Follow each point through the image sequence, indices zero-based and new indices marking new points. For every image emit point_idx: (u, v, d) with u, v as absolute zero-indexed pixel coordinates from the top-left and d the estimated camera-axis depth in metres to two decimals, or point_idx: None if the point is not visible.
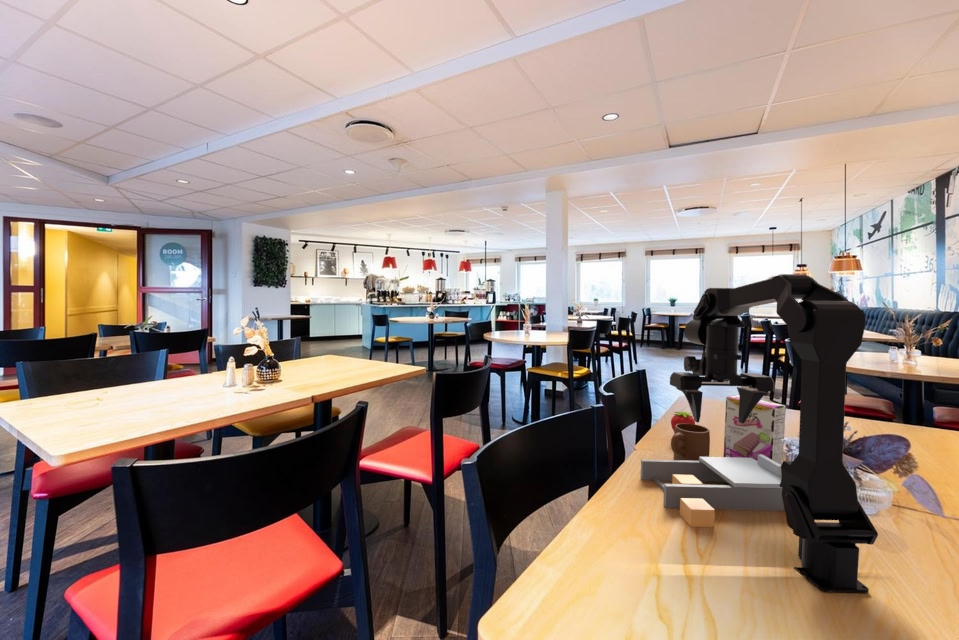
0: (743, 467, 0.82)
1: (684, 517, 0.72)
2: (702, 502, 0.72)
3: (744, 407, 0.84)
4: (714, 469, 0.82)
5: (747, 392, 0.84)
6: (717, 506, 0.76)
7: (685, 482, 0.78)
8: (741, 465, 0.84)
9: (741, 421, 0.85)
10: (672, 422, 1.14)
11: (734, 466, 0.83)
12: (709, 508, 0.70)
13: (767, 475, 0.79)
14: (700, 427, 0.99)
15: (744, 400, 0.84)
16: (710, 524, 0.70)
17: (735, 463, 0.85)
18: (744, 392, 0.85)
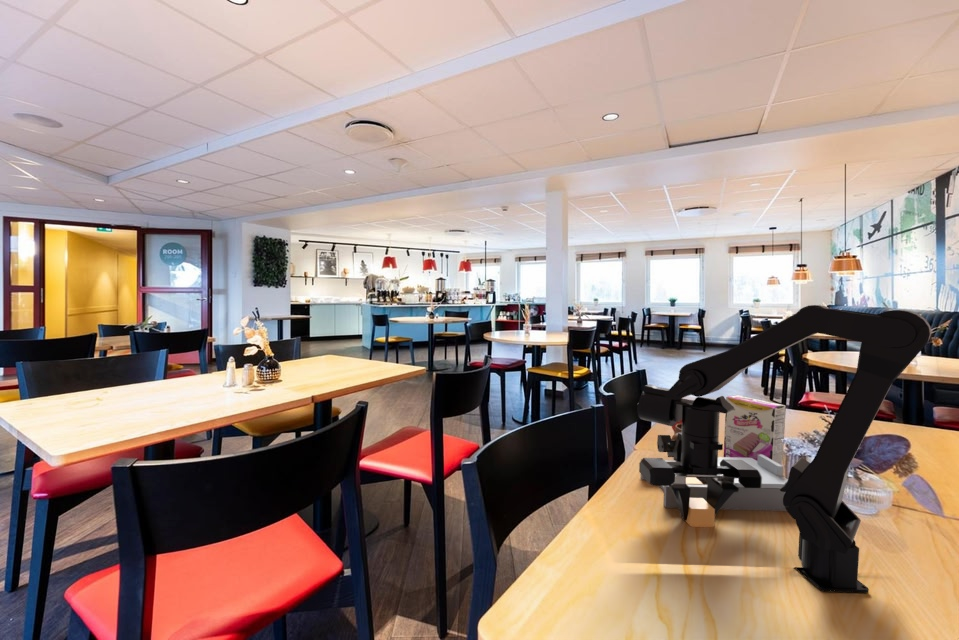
0: None
1: None
2: (702, 502, 0.72)
3: (712, 502, 0.71)
4: None
5: (715, 485, 0.71)
6: None
7: None
8: None
9: None
10: None
11: None
12: (709, 507, 0.70)
13: (767, 475, 0.79)
14: None
15: (712, 494, 0.71)
16: (710, 523, 0.70)
17: None
18: (712, 484, 0.71)
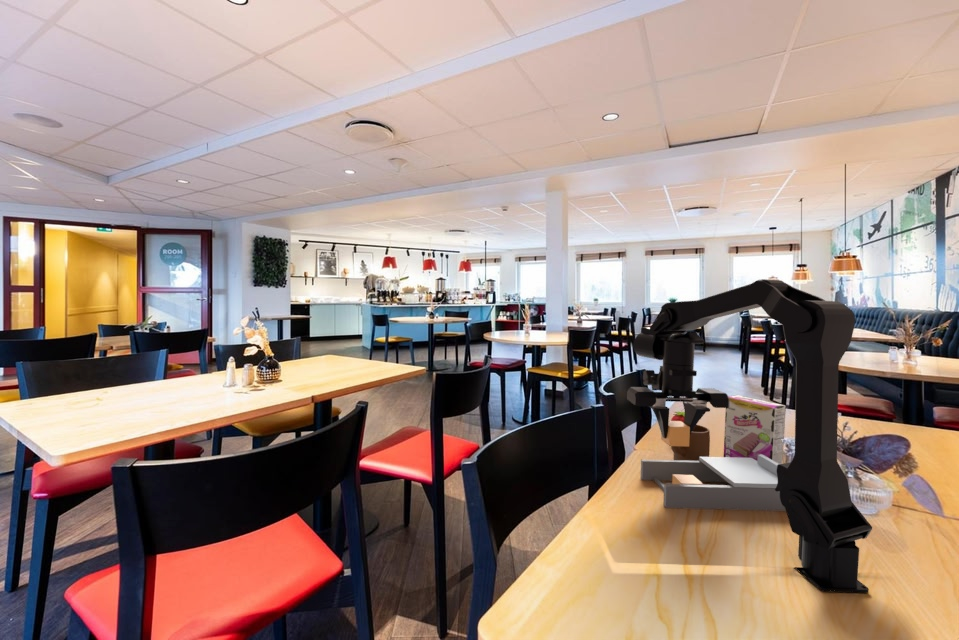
0: (743, 467, 0.82)
1: None
2: (680, 423, 0.85)
3: (688, 423, 0.84)
4: (714, 469, 0.82)
5: (691, 408, 0.83)
6: (717, 506, 0.76)
7: (685, 482, 0.78)
8: (741, 465, 0.84)
9: None
10: None
11: (734, 466, 0.83)
12: (685, 426, 0.83)
13: (767, 475, 0.79)
14: (700, 427, 0.99)
15: (688, 415, 0.84)
16: (686, 439, 0.82)
17: (735, 463, 0.85)
18: (688, 408, 0.84)
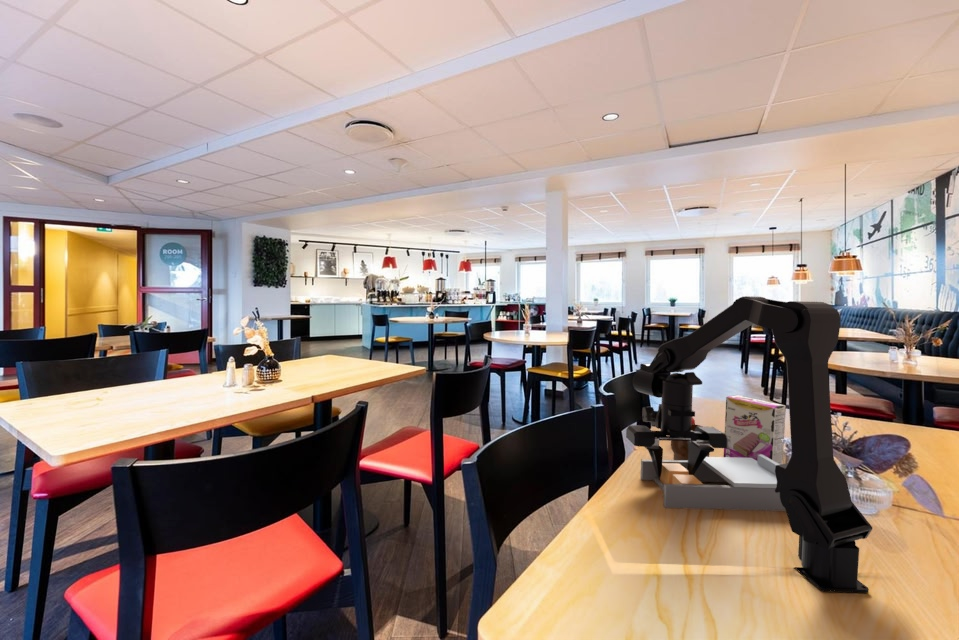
0: (743, 467, 0.82)
1: (664, 478, 0.85)
2: (679, 466, 0.85)
3: (692, 462, 0.84)
4: (714, 469, 0.82)
5: (695, 447, 0.84)
6: (717, 506, 0.76)
7: (685, 482, 0.78)
8: (741, 465, 0.84)
9: None
10: None
11: (734, 466, 0.83)
12: (684, 470, 0.83)
13: (767, 475, 0.79)
14: None
15: (692, 455, 0.84)
16: None
17: (735, 463, 0.85)
18: (692, 446, 0.85)
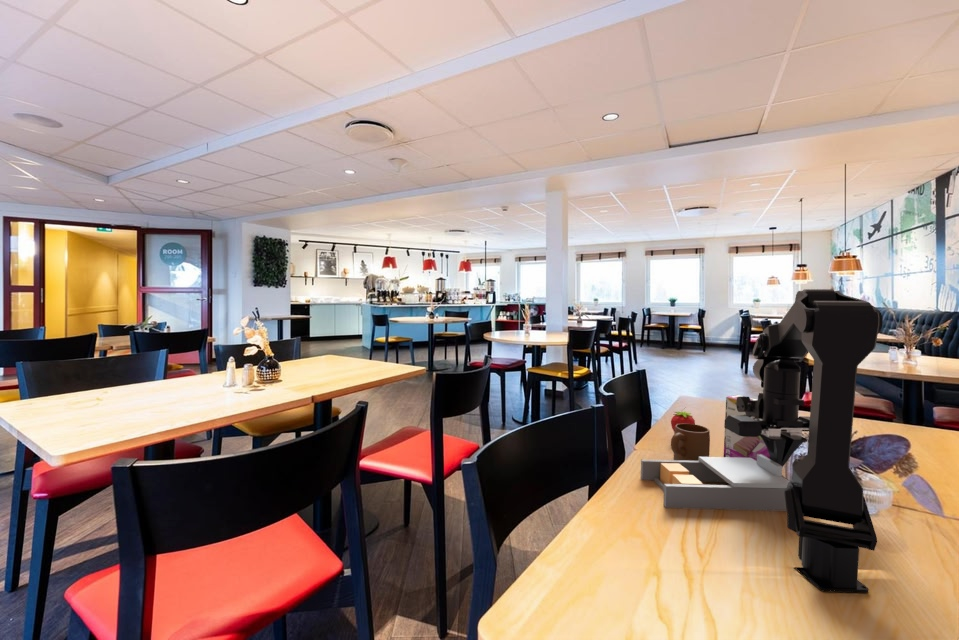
0: (742, 467, 0.82)
1: (664, 478, 0.85)
2: (679, 466, 0.85)
3: None
4: (713, 469, 0.82)
5: (785, 437, 0.80)
6: (717, 506, 0.76)
7: (685, 482, 0.78)
8: (740, 465, 0.84)
9: None
10: (672, 422, 1.14)
11: (733, 466, 0.83)
12: (685, 470, 0.83)
13: (766, 475, 0.79)
14: (700, 427, 0.99)
15: None
16: None
17: (734, 463, 0.85)
18: (781, 437, 0.81)
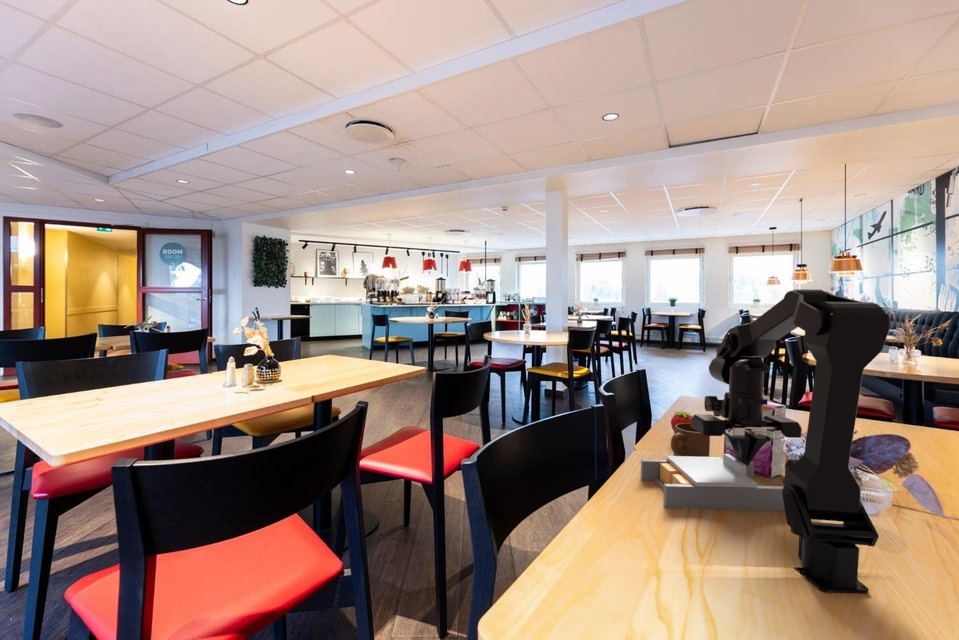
0: (708, 467, 0.83)
1: (664, 479, 0.85)
2: None
3: None
4: (679, 468, 0.82)
5: (750, 436, 0.81)
6: (717, 506, 0.76)
7: (685, 482, 0.78)
8: (707, 464, 0.84)
9: None
10: (672, 422, 1.14)
11: (699, 465, 0.83)
12: None
13: (730, 474, 0.79)
14: None
15: None
16: None
17: (701, 462, 0.85)
18: (747, 436, 0.81)
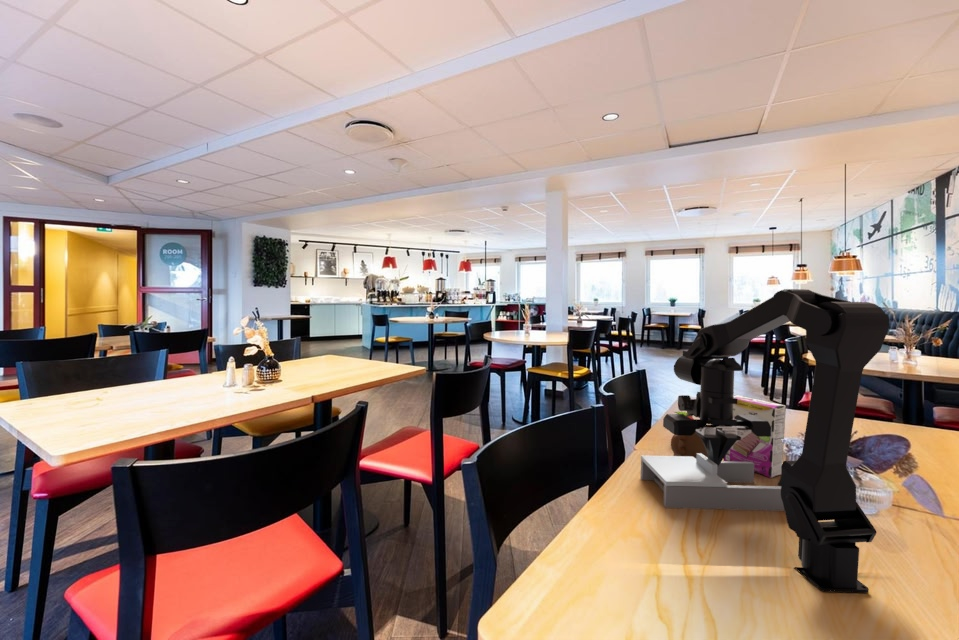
0: (680, 466, 0.83)
1: None
2: None
3: None
4: (651, 468, 0.83)
5: (720, 436, 0.81)
6: (717, 506, 0.76)
7: None
8: (680, 464, 0.84)
9: None
10: None
11: (672, 465, 0.83)
12: None
13: (702, 474, 0.79)
14: None
15: None
16: None
17: (674, 462, 0.85)
18: (718, 435, 0.82)
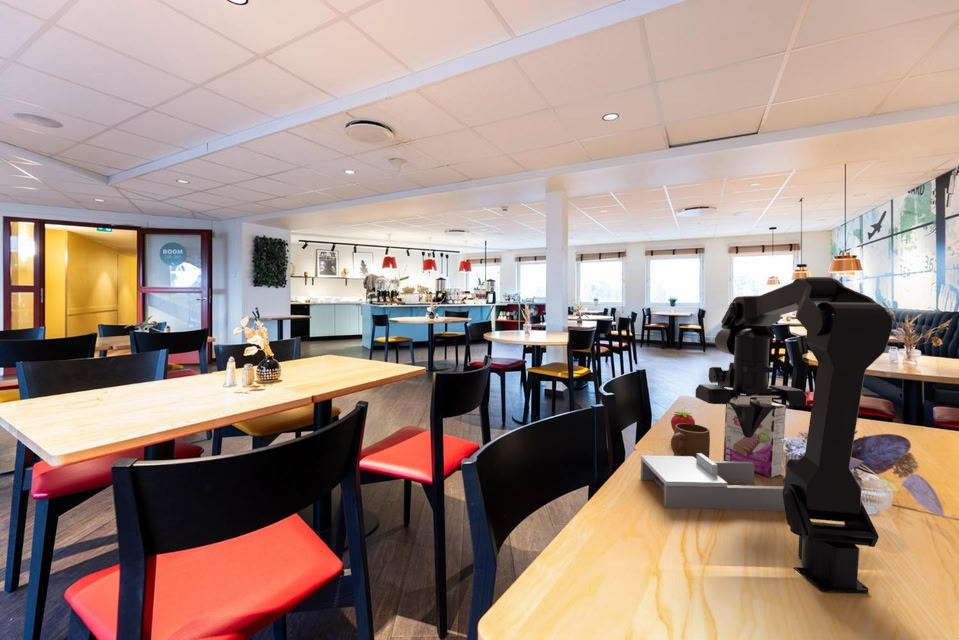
0: (681, 466, 0.83)
1: None
2: None
3: None
4: (652, 468, 0.83)
5: (755, 405, 0.80)
6: (717, 506, 0.76)
7: None
8: (680, 464, 0.84)
9: None
10: (672, 422, 1.14)
11: (672, 465, 0.83)
12: None
13: (702, 474, 0.79)
14: (700, 427, 0.99)
15: None
16: None
17: (674, 462, 0.85)
18: (752, 405, 0.81)
